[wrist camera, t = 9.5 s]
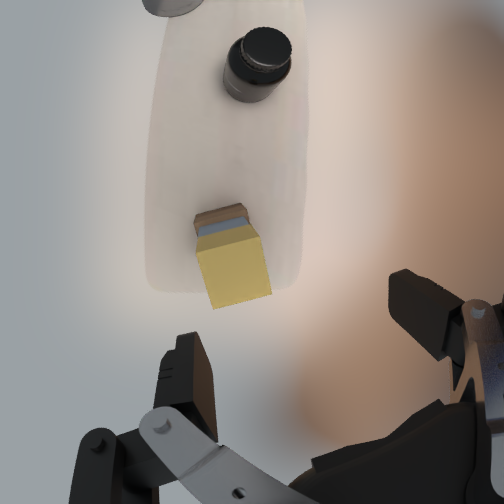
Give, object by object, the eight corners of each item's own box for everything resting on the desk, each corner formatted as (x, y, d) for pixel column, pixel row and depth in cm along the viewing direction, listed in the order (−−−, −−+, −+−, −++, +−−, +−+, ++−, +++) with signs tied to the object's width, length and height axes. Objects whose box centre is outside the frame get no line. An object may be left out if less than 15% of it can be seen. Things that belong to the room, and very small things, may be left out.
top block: (198, 237, 26) (195, 253, 21) (250, 223, 26) (259, 236, 21) (212, 285, 27) (213, 309, 22) (261, 272, 28) (272, 294, 23)
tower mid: (199, 227, 30) (197, 237, 26) (243, 216, 31) (249, 224, 26) (210, 268, 32) (211, 285, 27) (252, 257, 32) (260, 273, 28)
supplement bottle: (216, 95, 32) (219, 63, 20) (231, 53, 30) (242, 10, 19) (266, 110, 33) (292, 85, 22) (280, 68, 31) (309, 32, 20)
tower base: (196, 214, 36) (193, 223, 30) (240, 202, 36) (246, 209, 31) (208, 256, 38) (208, 272, 32) (251, 245, 38) (258, 259, 32)
